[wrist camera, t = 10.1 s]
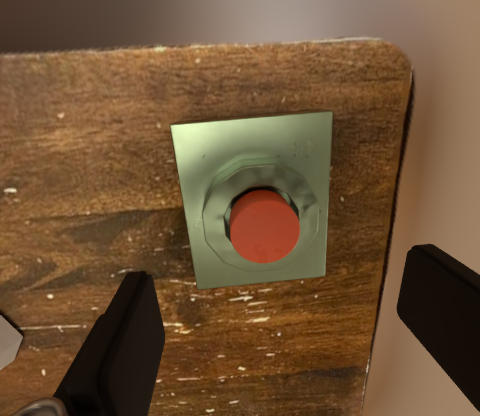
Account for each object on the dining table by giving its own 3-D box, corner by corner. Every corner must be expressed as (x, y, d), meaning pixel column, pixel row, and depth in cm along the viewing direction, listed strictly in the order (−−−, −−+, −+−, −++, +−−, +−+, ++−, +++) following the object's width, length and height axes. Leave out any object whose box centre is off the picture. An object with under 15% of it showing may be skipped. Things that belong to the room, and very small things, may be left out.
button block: (314, 259, 21) (335, 293, 17) (199, 271, 20) (194, 309, 17) (319, 109, 16) (348, 110, 13) (175, 121, 16) (162, 126, 12)
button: (292, 244, 16) (300, 260, 14) (232, 250, 16) (233, 267, 14) (291, 186, 14) (300, 196, 13) (226, 192, 14) (226, 204, 13)
